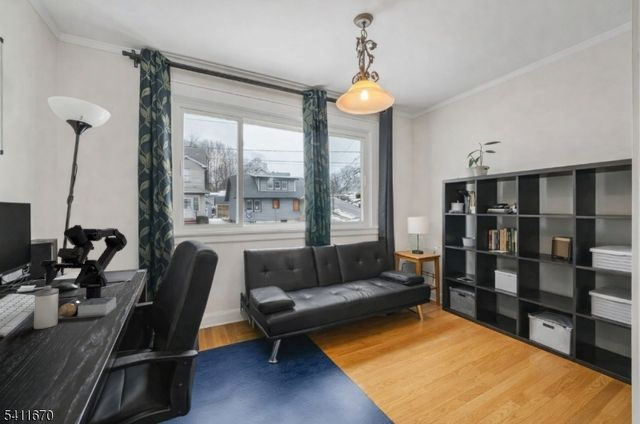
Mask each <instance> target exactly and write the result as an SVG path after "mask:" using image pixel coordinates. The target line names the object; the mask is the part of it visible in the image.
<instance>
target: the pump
mask: <svg viewBox="0 0 640 424" xmlns="http://www.w3.org/2000/svg"><path fill="white" fill-rule="evenodd" d="M51 287H52V286H51V285H48V286H46V285H45V286H43V289H40V290H36V291H34V311H33V329H34V330H40V329H41V330H43V329H46V328H47V329H48V328H51V327H54V326H56V325H57V324H58V323H59V322H58V321H59V320H58V317H59V291H60V290H59V288H54V287H52V288H51Z"/></svg>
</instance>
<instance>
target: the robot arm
mask: <svg viewBox="0 0 640 424" xmlns="http://www.w3.org/2000/svg"><path fill="white" fill-rule="evenodd" d="M81 225H82V224H74V226H71V227H69V228H66V229H65V231H64V232H63V235H64V237H65V238H66V239H67V241H68V242H69V244H70V245H72V246H73V247H72V248H71V247H68V248H67V247H61V248H58V252H57V254H56V257H57V258H60V261H61V262H62V263H61V262H60V263H58V261H57V260H56V259H52V260H51V259H49V260H47V259H45V260H42V261H41V262H40V264H39V267H40V268H41V269H42V271H44V272H45V273H46V276H45V286H50V284H52V283H53V281H54V280H55V278H56V277H57V276H58V275H59V272H60V270H61V269H71V270H74V269H75V270H76V269H77V270H78V269H80V271H79V273H78V275H77V276H76V278H75V280H74V282H73V284H74V285H75V286H77V285H78V284H79V289H85V298H87V300H89V299H93V298H106V297H105V296H104V295H103V296H102V291H103V290H102V289H103V288H105V287H107V285H108V279H107V278H106V276H105V270H106V269H107V267H108V266H109V264H110V263H111V261H112V260H113V258H114V257H115V255H116V254H117V253H118V252H120V251H122V250H124V248H126V246H127V244H128V240H127V237H126V235H124V234H123V233H121V232H120V231H119V229H118V228H115V227H114V228H113V227H110V228H109V227H108V228H102V229H101V228H83V227H82V226H81ZM103 238H104V240H103V242H104V243H105V246H106V248H105V249H104V250H103V252H102V253H101V255H100V256H99V257H98V259H89V257H88V255H89V253H90V252H91V251H94V250H95V246H94V243H93V242H99V241H101V240H102V239H103Z"/></svg>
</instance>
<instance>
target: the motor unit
mask: <svg viewBox="0 0 640 424" xmlns="http://www.w3.org/2000/svg"><path fill="white" fill-rule="evenodd" d="M115 309H117V297H116V296H113V297H105V298H93V299H89V300H87V298H86V296H77V297H75V298H74V299H72V300H70V301H68V302H66V303H64V304H62V305H61V306H60V307H58V315H59V316H58V321H59V320H69V319H70V320H71V319H83V318H95V317H107V316H108V315H109V314H110V313H112V311H114V310H115Z"/></svg>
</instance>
